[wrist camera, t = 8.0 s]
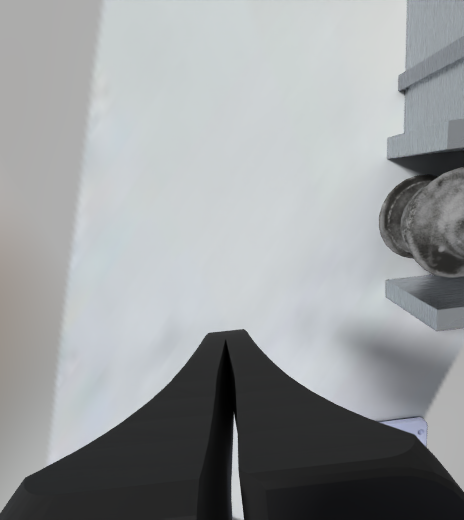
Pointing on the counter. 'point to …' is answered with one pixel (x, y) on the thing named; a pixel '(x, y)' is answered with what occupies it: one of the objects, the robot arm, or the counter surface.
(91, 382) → the counter surface
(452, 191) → the grey tapered rounded piece
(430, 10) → the grey divided tray
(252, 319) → the counter surface
